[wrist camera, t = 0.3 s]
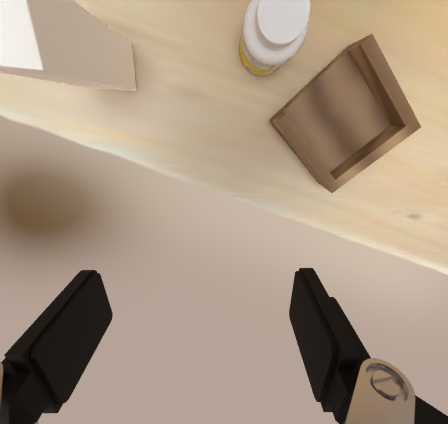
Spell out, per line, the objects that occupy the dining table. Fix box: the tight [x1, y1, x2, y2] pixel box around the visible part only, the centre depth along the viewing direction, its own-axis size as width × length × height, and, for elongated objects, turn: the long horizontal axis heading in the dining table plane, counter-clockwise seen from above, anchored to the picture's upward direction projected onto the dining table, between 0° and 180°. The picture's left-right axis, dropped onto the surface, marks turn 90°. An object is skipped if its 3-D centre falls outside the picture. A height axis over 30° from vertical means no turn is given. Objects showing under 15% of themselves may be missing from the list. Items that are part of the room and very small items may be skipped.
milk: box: [0, 0, 137, 91], centre depth 22 cm, size 6×6×22 cm
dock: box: [269, 34, 421, 193], centre depth 32 cm, size 14×14×6 cm
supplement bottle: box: [239, 0, 310, 76], centre depth 25 cm, size 7×7×13 cm
